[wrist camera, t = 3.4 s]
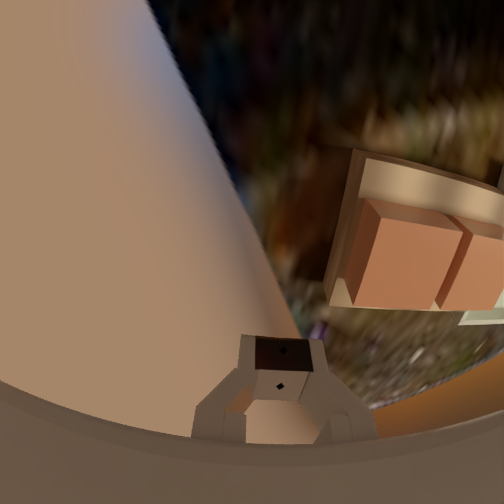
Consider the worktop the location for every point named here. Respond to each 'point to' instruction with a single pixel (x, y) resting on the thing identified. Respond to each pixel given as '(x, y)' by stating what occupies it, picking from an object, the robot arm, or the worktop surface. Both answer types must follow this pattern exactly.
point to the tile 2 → (474, 268)
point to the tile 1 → (399, 256)
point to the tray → (498, 315)
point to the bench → (405, 193)
